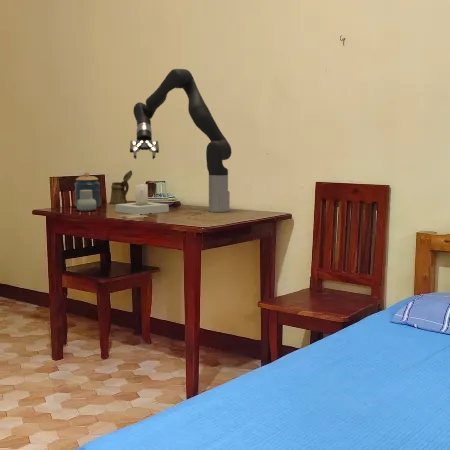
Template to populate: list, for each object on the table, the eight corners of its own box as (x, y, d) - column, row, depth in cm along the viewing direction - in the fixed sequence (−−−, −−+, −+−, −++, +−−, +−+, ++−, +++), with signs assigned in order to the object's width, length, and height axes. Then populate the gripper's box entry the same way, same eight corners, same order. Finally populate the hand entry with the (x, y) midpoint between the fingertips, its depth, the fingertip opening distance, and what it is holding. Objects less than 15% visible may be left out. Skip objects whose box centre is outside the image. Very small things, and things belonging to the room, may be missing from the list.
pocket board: (168, 211, 293) (168, 204, 293) (137, 215, 281) (137, 207, 281) (146, 208, 307) (146, 201, 306) (115, 211, 295) (115, 204, 294)
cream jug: (136, 211, 296) (135, 184, 295) (148, 211, 297) (147, 183, 295) (136, 213, 289) (135, 185, 287) (148, 212, 289) (147, 185, 288)
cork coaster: (147, 217, 273) (147, 216, 273) (130, 219, 267) (130, 217, 267) (136, 215, 279) (136, 214, 279) (119, 217, 273) (119, 215, 273)
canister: (74, 205, 321) (72, 171, 319) (99, 205, 325) (98, 171, 323) (75, 208, 309) (74, 173, 307) (102, 207, 313) (101, 172, 310)
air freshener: (97, 211, 295) (96, 190, 294) (79, 212, 292) (78, 191, 291) (93, 209, 305) (92, 189, 304) (76, 210, 302) (75, 189, 301)
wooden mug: (127, 205, 325) (126, 170, 322) (106, 203, 331) (105, 170, 329) (137, 203, 333) (136, 169, 330) (116, 202, 339) (115, 169, 336)
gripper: (129, 128, 309) (129, 152, 300) (158, 128, 311) (159, 152, 302) (129, 139, 315) (129, 162, 306) (158, 139, 317) (159, 163, 308)
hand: (144, 157), depth 304 cm, fingers open, 8 cm apart
